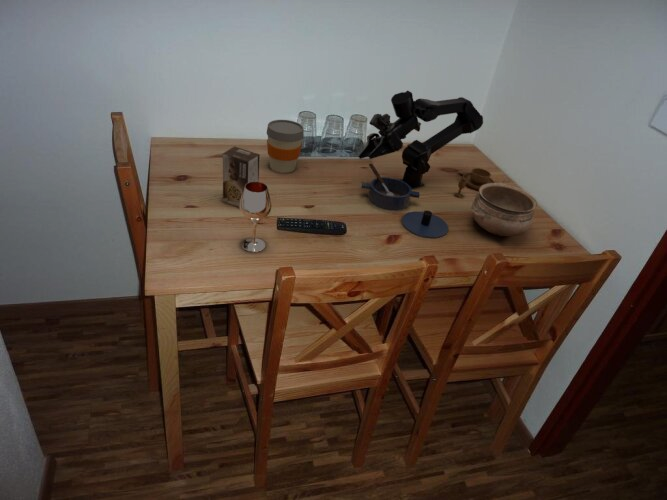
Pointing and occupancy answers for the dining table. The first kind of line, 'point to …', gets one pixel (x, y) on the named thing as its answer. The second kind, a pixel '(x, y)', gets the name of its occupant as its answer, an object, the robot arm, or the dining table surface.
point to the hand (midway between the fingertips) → (364, 157)
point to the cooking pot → (503, 209)
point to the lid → (425, 224)
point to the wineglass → (255, 211)
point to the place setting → (474, 180)
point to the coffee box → (238, 173)
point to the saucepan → (386, 200)
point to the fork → (380, 179)
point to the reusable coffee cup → (284, 144)
